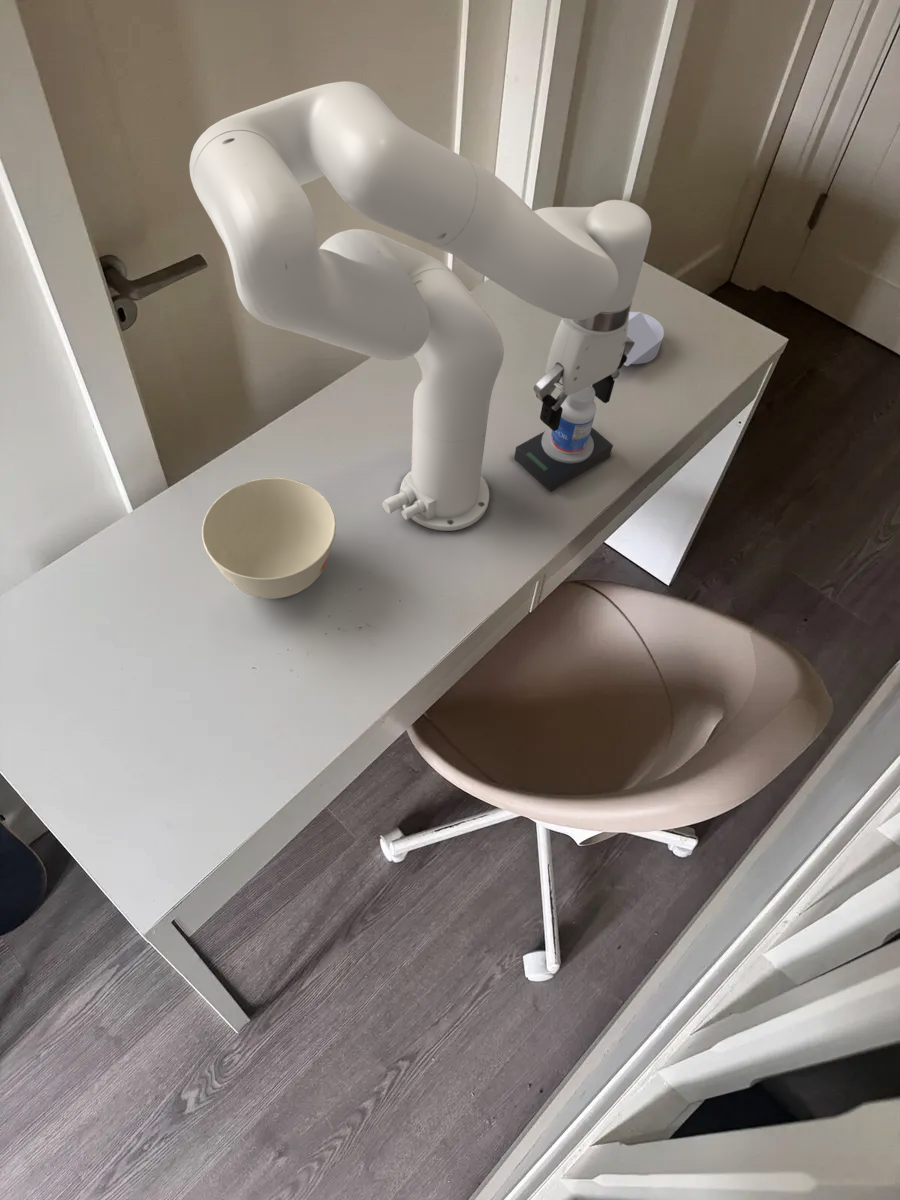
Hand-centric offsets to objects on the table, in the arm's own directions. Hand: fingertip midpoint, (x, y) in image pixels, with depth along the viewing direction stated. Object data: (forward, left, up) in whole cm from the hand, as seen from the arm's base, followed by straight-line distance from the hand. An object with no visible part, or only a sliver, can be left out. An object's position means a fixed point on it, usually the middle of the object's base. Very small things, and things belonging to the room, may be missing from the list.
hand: (574, 410), depth 120 cm
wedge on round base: (+25, +12, -9) cm, 29 cm away
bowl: (-45, +6, -9) cm, 47 cm away
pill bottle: (0, 0, -6) cm, 6 cm away
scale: (0, 0, -9) cm, 9 cm away
